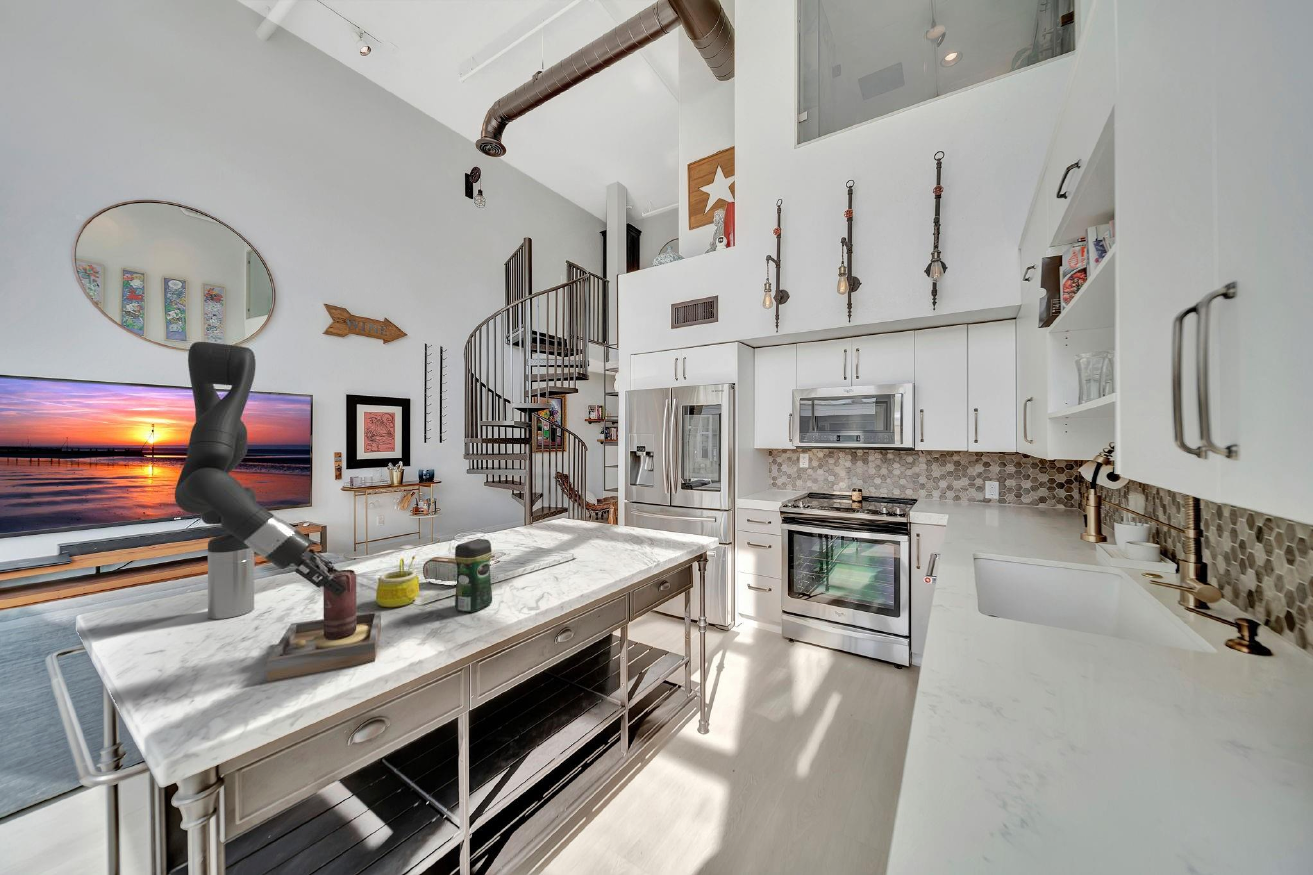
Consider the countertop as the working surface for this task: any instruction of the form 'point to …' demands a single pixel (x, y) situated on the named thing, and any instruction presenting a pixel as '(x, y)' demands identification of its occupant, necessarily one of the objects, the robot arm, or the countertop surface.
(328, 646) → the carrier tray
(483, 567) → the coffee jar
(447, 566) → the tin
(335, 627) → the can
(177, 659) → the countertop surface
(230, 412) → the robot arm
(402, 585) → the yellow pot
